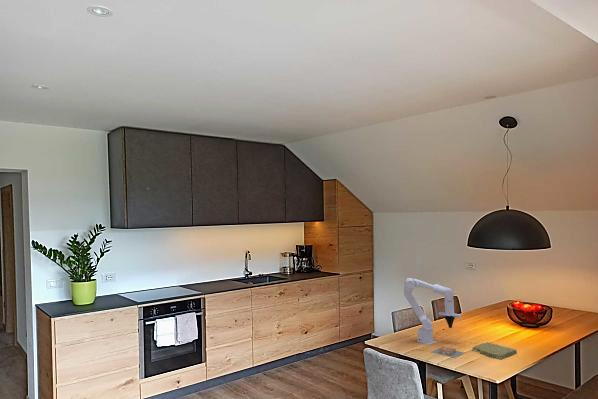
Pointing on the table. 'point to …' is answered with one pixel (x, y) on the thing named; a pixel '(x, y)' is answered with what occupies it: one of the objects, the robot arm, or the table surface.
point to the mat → (448, 355)
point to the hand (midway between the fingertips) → (450, 327)
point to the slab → (447, 350)
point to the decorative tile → (494, 350)
